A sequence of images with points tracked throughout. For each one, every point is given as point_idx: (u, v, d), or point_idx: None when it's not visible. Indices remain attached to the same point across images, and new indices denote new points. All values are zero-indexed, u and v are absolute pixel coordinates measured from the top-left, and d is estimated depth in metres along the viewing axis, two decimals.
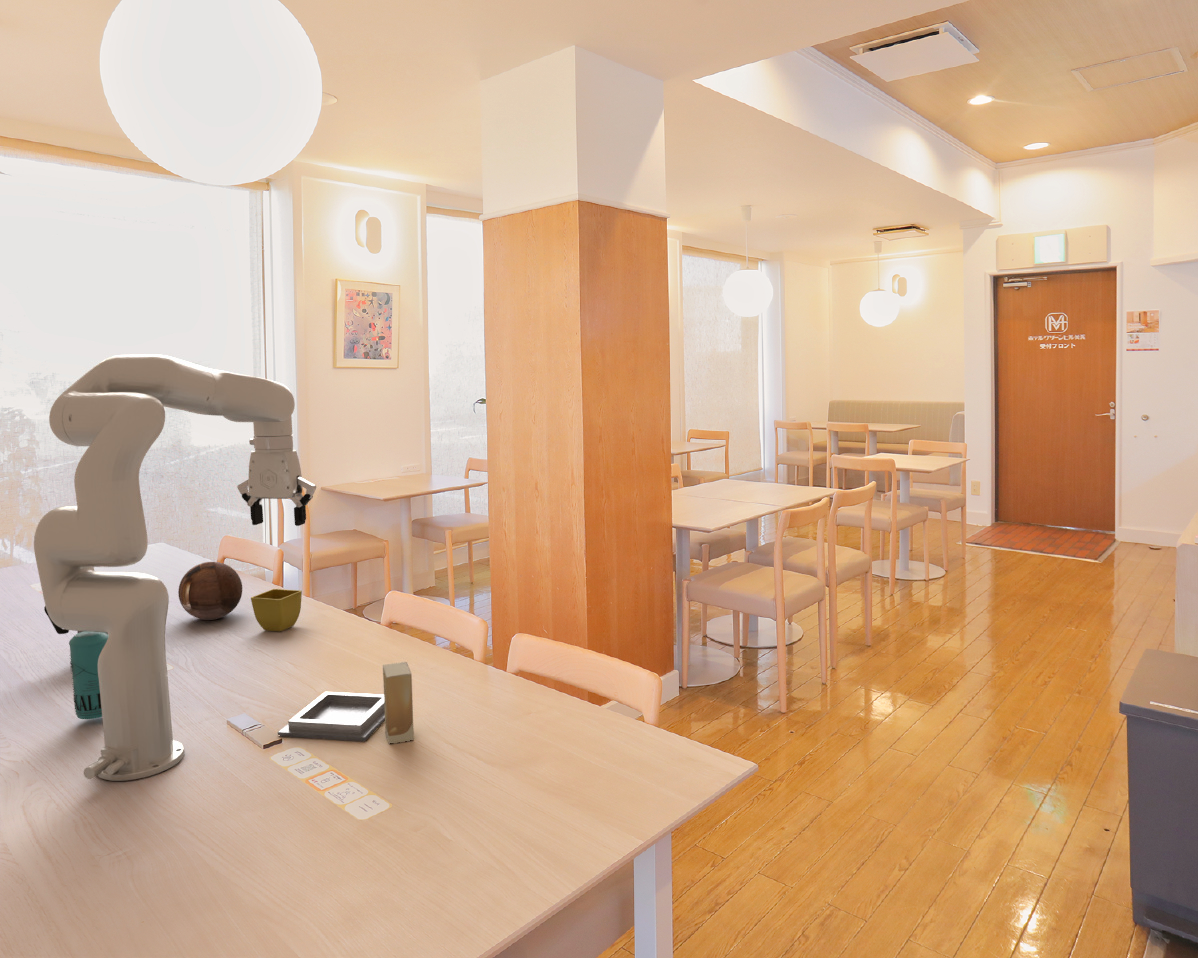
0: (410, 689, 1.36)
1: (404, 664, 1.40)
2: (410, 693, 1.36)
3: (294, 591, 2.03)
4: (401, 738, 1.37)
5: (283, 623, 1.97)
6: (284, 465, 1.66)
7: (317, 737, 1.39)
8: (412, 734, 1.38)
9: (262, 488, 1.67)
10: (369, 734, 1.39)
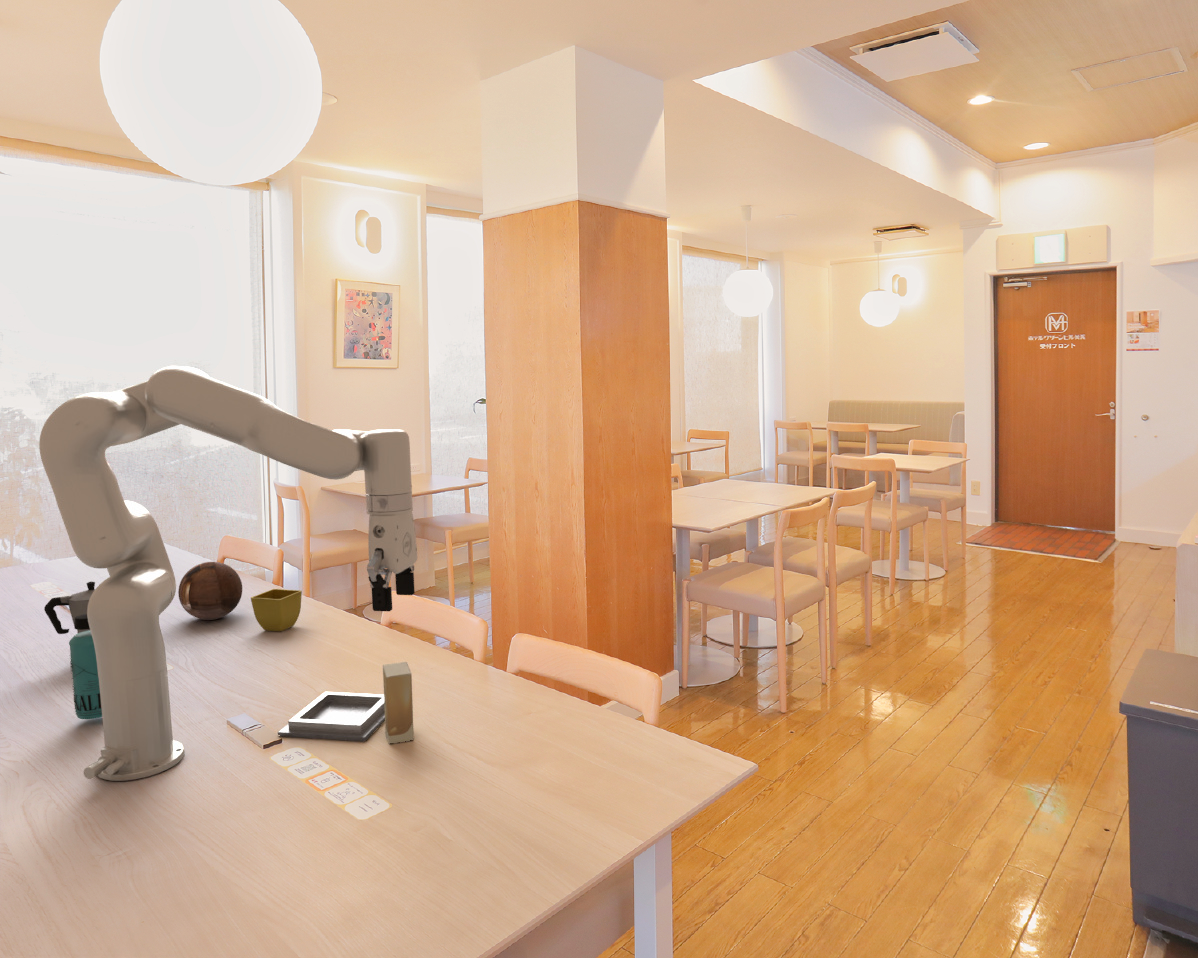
0: (410, 689, 1.36)
1: (404, 664, 1.40)
2: (410, 693, 1.36)
3: (294, 591, 2.03)
4: (401, 738, 1.37)
5: (283, 623, 1.97)
6: (413, 523, 1.38)
7: (317, 737, 1.39)
8: (412, 734, 1.38)
9: (404, 558, 1.34)
10: (369, 734, 1.39)
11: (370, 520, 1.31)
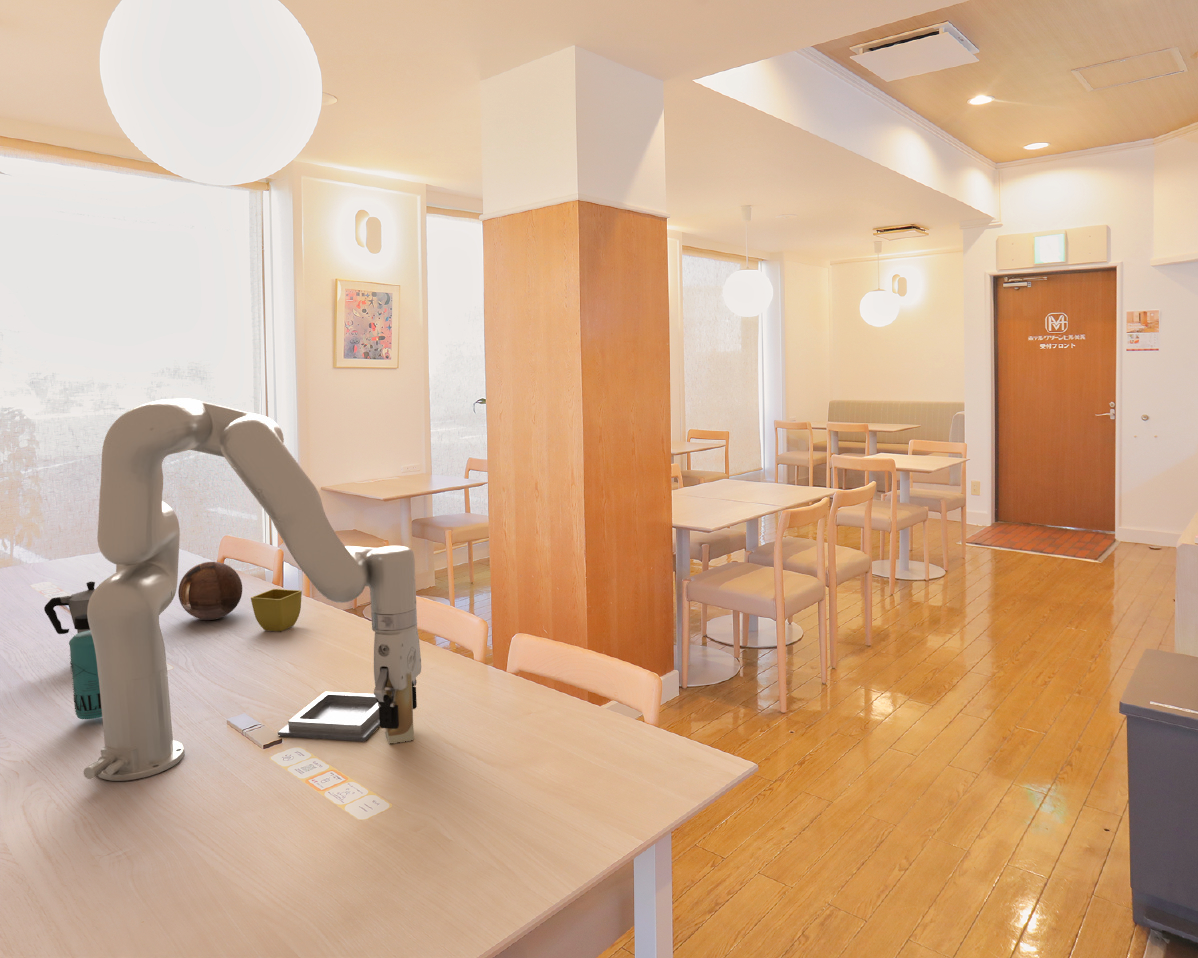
0: (410, 689, 1.36)
1: None
2: (410, 693, 1.36)
3: (294, 591, 2.03)
4: (401, 738, 1.37)
5: (283, 623, 1.97)
6: (417, 636, 1.41)
7: (317, 737, 1.39)
8: (412, 734, 1.38)
9: None
10: (369, 734, 1.39)
11: (375, 638, 1.34)
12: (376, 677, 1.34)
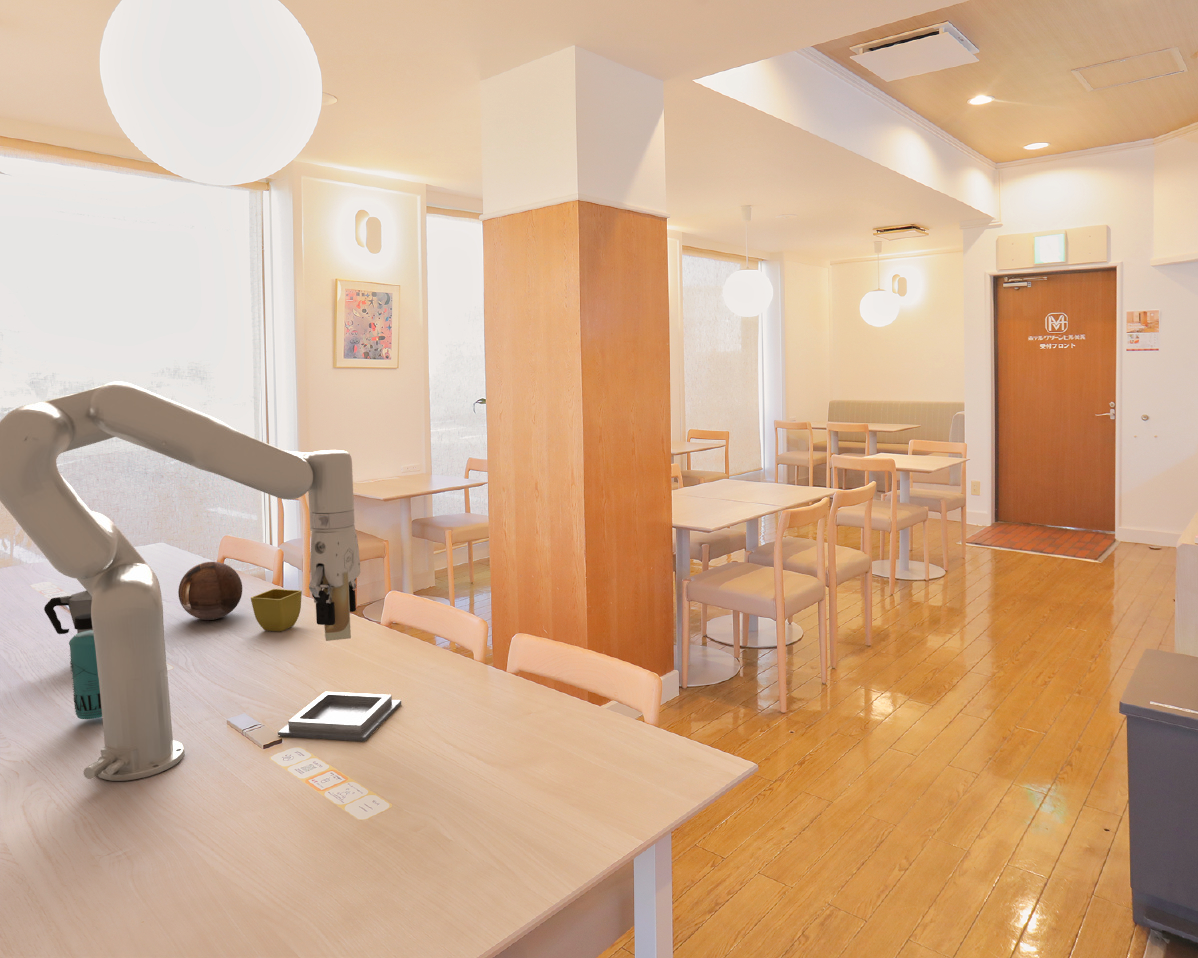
0: (347, 588, 1.41)
1: None
2: (347, 592, 1.41)
3: (294, 591, 2.03)
4: (338, 635, 1.42)
5: (283, 623, 1.97)
6: (356, 539, 1.45)
7: (317, 737, 1.39)
8: (349, 632, 1.42)
9: None
10: (369, 734, 1.39)
11: (312, 536, 1.38)
12: (312, 574, 1.38)
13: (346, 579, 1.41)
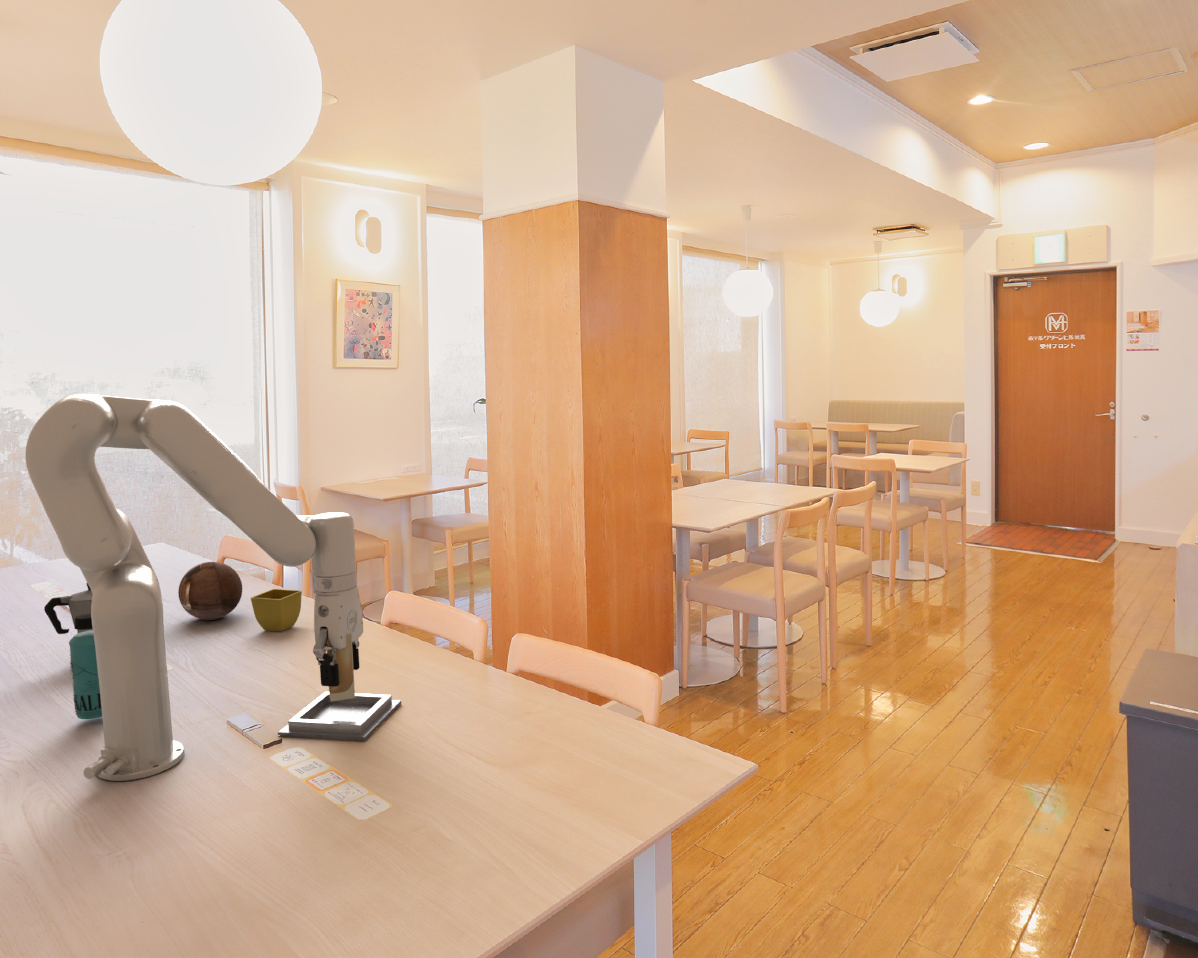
0: (350, 649, 1.43)
1: None
2: (350, 653, 1.43)
3: (294, 591, 2.03)
4: (342, 696, 1.43)
5: (283, 623, 1.97)
6: (358, 599, 1.47)
7: (317, 737, 1.39)
8: (353, 692, 1.44)
9: None
10: (369, 734, 1.39)
11: (315, 600, 1.40)
12: (316, 637, 1.40)
13: (350, 640, 1.42)
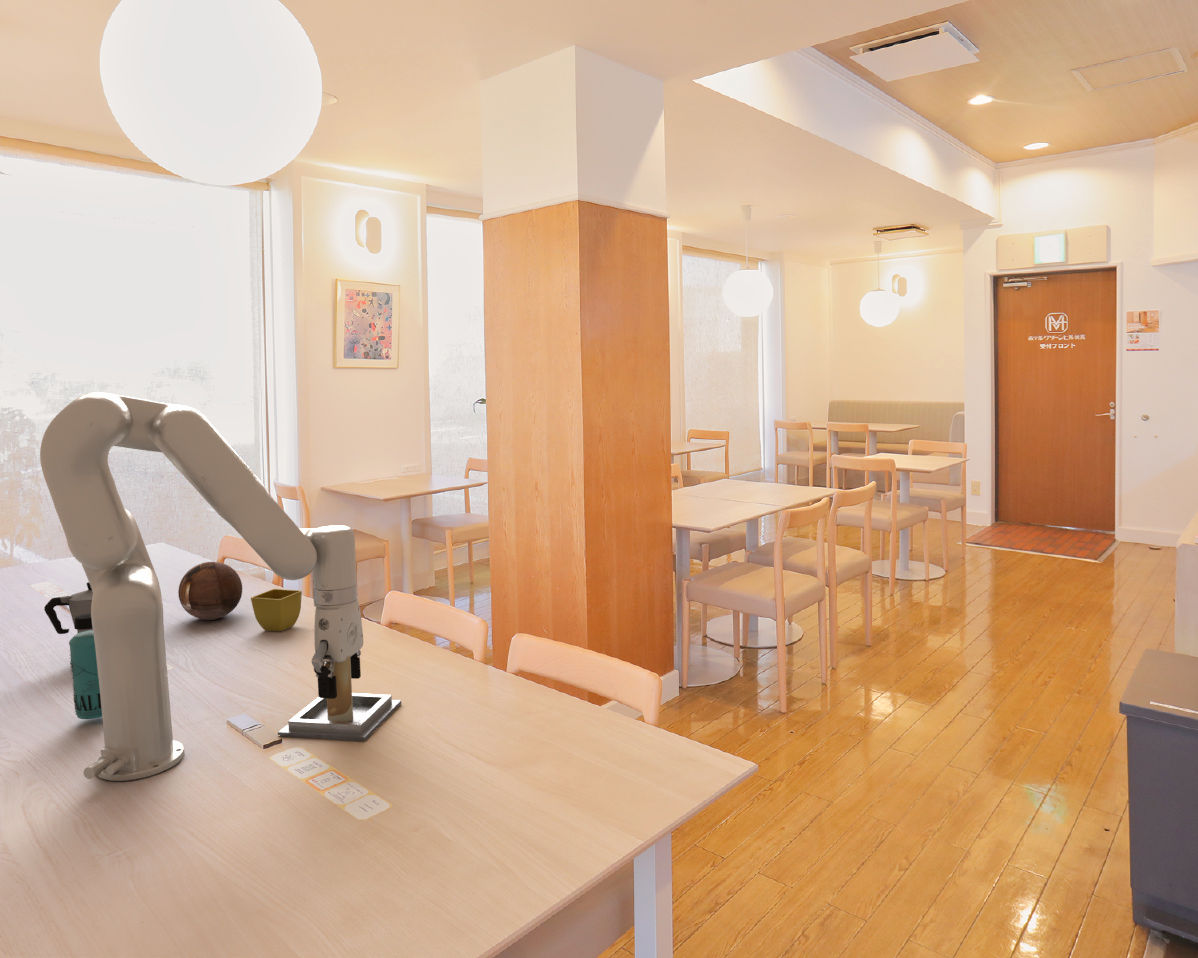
0: (349, 671, 1.43)
1: None
2: (349, 675, 1.43)
3: (294, 591, 2.03)
4: (341, 718, 1.43)
5: (283, 623, 1.97)
6: (359, 612, 1.47)
7: (317, 737, 1.39)
8: (351, 714, 1.44)
9: (349, 647, 1.43)
10: (369, 734, 1.39)
11: (316, 613, 1.40)
12: (316, 650, 1.40)
13: (348, 663, 1.42)
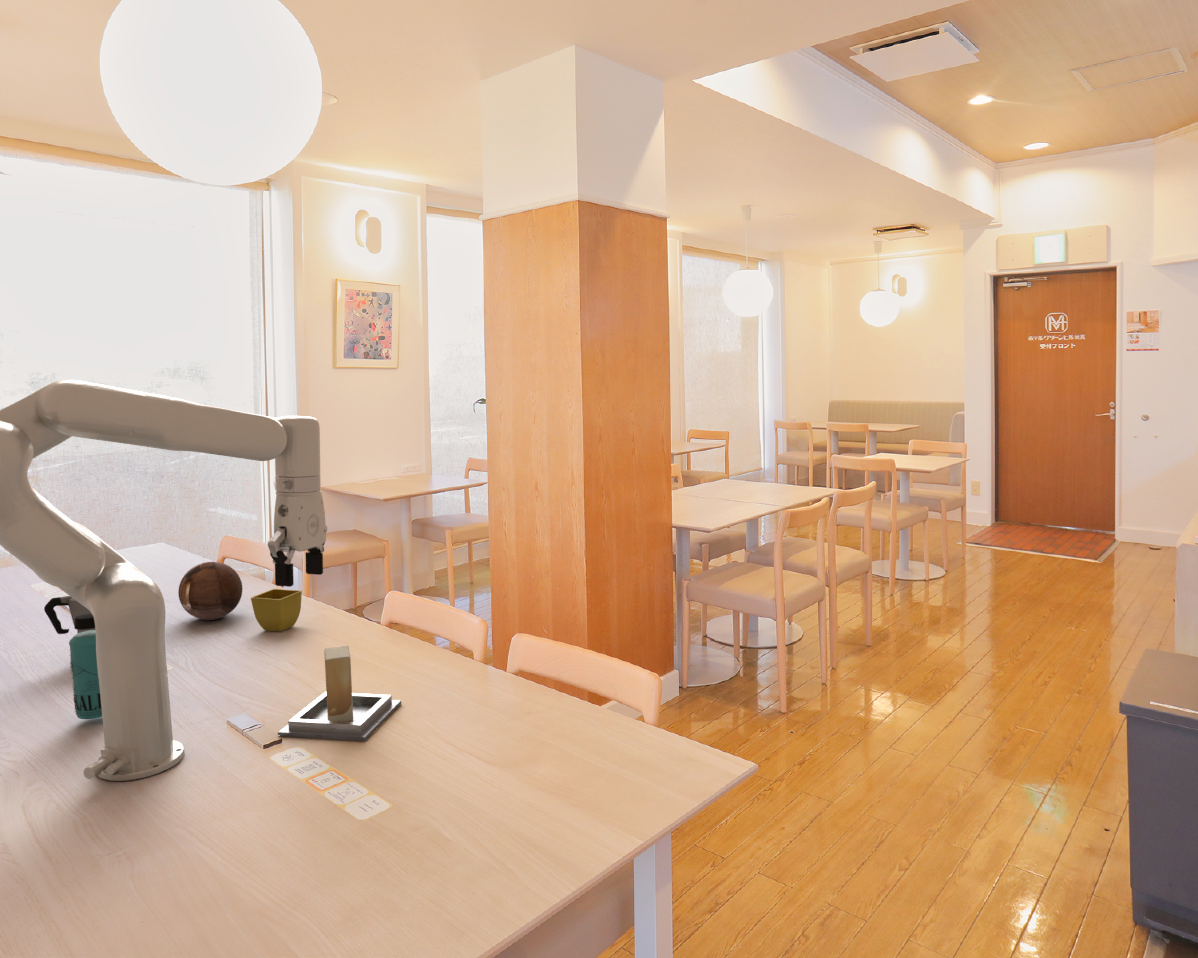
0: (349, 671, 1.43)
1: (345, 647, 1.47)
2: (349, 675, 1.43)
3: (294, 591, 2.03)
4: (341, 718, 1.43)
5: (283, 623, 1.97)
6: (322, 506, 1.47)
7: (317, 737, 1.39)
8: (351, 714, 1.44)
9: (308, 537, 1.42)
10: (369, 734, 1.39)
11: (276, 500, 1.40)
12: None
13: (348, 663, 1.42)
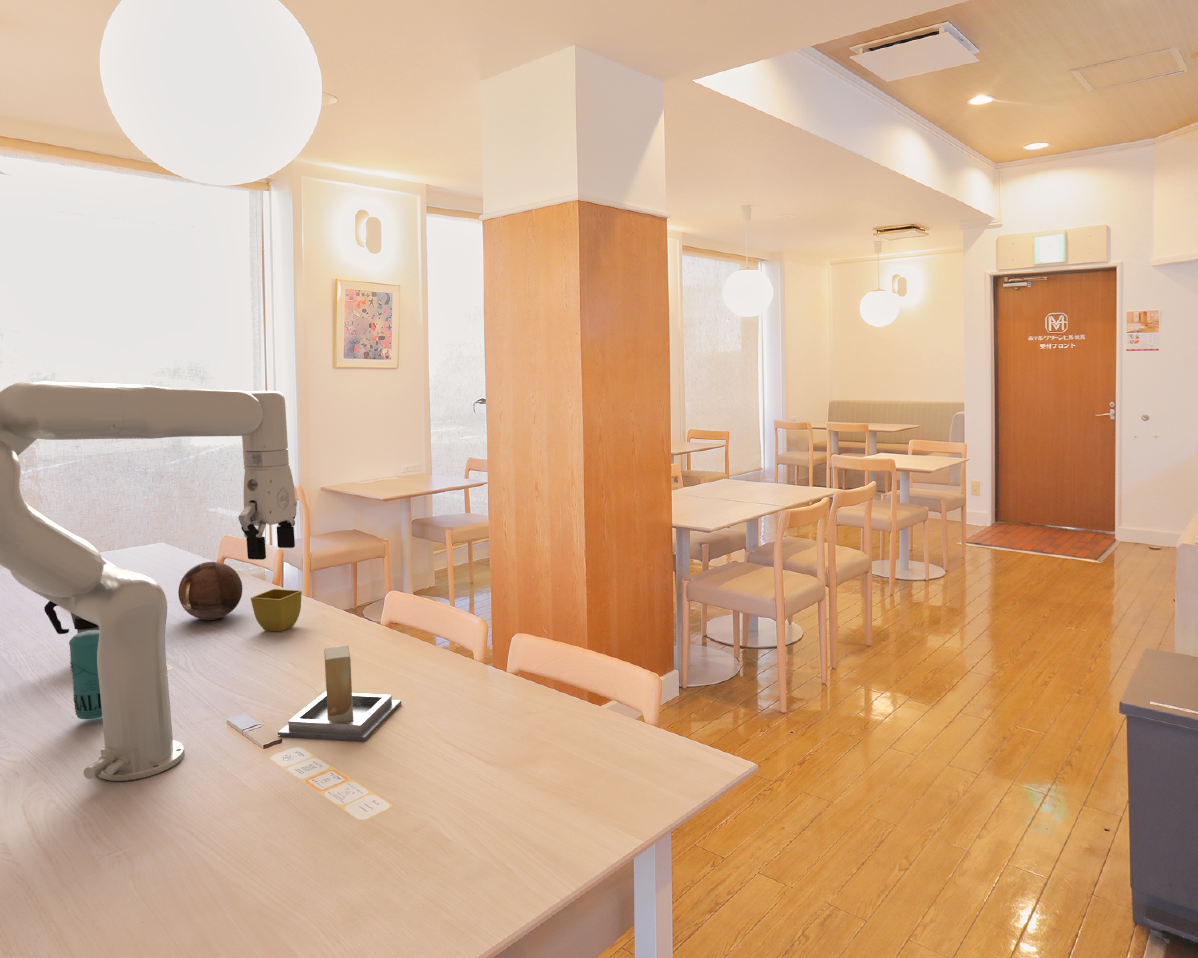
0: (349, 671, 1.43)
1: (345, 647, 1.47)
2: (349, 675, 1.43)
3: (294, 591, 2.03)
4: (341, 718, 1.43)
5: (283, 623, 1.97)
6: (291, 480, 1.48)
7: (317, 737, 1.39)
8: (351, 714, 1.44)
9: (279, 511, 1.44)
10: (369, 734, 1.39)
11: (245, 474, 1.41)
12: None
13: (348, 663, 1.42)
